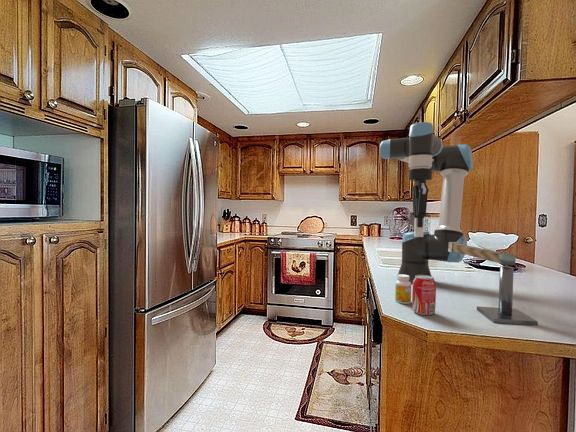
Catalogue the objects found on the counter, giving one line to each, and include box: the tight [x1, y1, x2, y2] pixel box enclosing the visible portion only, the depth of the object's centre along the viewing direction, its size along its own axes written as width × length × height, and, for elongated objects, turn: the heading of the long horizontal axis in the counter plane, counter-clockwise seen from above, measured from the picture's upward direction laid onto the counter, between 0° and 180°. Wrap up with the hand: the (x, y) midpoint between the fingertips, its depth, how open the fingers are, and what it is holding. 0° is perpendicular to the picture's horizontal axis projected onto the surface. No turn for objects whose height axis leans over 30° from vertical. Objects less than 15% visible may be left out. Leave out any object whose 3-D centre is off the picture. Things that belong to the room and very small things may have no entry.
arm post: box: [476, 265, 539, 326], centre depth 102 cm, size 12×12×16 cm
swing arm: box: [448, 242, 517, 266], centre depth 115 cm, size 32×4×4 cm, turn 3°
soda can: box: [411, 275, 437, 316], centre depth 105 cm, size 7×7×12 cm
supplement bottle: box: [394, 274, 412, 305], centre depth 117 cm, size 5×5×10 cm
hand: (418, 236), depth 112 cm, fingers closed
